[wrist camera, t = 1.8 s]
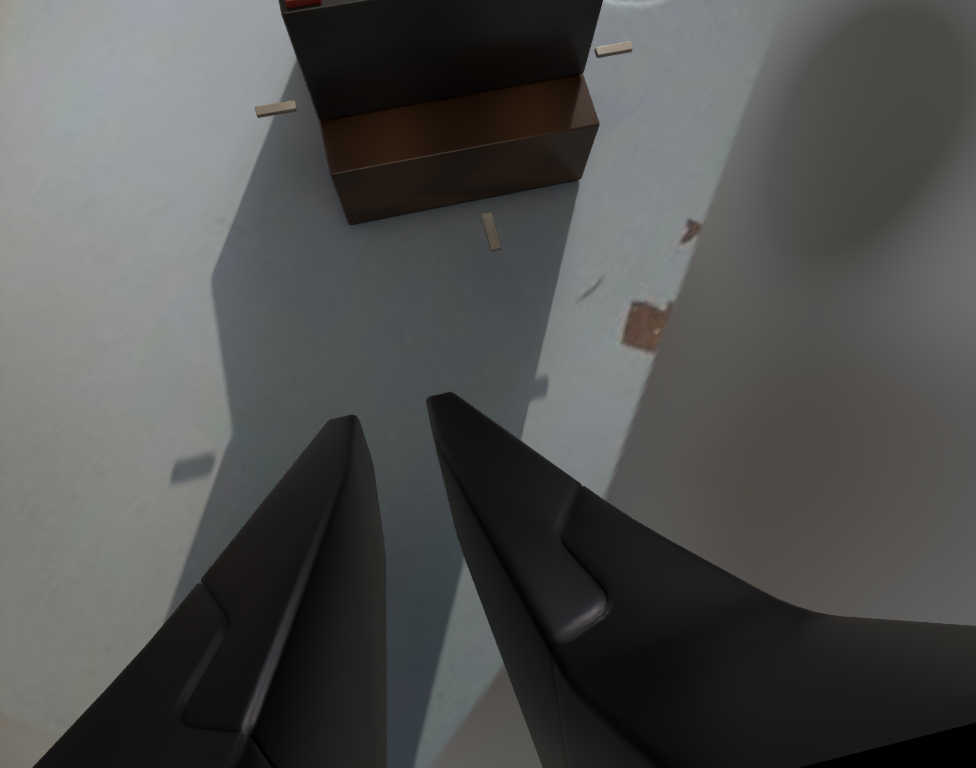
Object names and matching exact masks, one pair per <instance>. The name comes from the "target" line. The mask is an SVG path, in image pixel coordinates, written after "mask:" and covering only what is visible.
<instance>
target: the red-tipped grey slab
mask: <svg viewBox="0 0 976 768" xmlns="http://www.w3.org/2000/svg"><path fill="white" fill-rule="evenodd" d="M602 2H603V0H279V5H280V10H281V15H282V18H283V20H284V23H285V26H286V29H287V32H288V35H289V37H290V40H291V43H292V46H293V49H294V52H295V54H296V57H297V60H298V63H299V66H300V69H301V71H302V74H303V77H304V80H305V83H306V86H307V88H308V91H309V94H310V97H311V100H312V103H313V105H314V108H315V111H316V114H317V117H318V119H319V120H325V119H330V118H336V117H342V116H347V115H353V114H358V113H364V112H370V111H375V110H381V109H386V108H392V107H397V106H403V105H409V104H414V103H420V102H425V101H431V100H437V99H442V98H448V97H453V96H459V95H465V94H470V93H476V92H481V91H487V90H492V89H498V88H504V87H509V86H515V85H520V84H526V83H532V82H537V81H543V80H548V79H554V78H560V77H565V76H571V75H576V74H582V73H584V70H585V66H586V62H587V58H588V55H589V51H590V47H591V43H592V40H593V36H594V32H595V29H596V25H597V21H598V17H599V14H600V10H601V6H602Z"/></svg>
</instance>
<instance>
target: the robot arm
mask: <svg viewBox="0 0 976 768" xmlns="http://www.w3.org/2000/svg"><path fill="white" fill-rule="evenodd" d="M426 404H427V409H428V414H429V419H430V424H431V429H432V434H433V438H434V442H435V446H436V451H437V455H438V459H439V463H440V467H441V471H442V476H443V480H444V484H445V488H446V492H447V496H448V501H449V505H450V509H451V513H452V517H453V521H454V526H455V529H456V533H457V537H458V540H459V543H460V546H461V549H462V552H463V555H464V557H465V560H466V563H467V566H468V568H469V571H470V574H471V576H472V579H473V582H474V584H475V587H476V590H477V592H478V595H479V598H480V600H481V603H482V606H483V608H484V611H485V614H486V617H487V619H488V622H489V625H490V627H491V630H492V633H493V635H494V638H495V641H496V643H497V646H498V649H499V651H500V654H501V657H502V659H503V662H504V665H505V668H506V670H507V673H508V676H509V678H510V681H511V683H512V686H513V689H514V692H515V694H516V697H517V700H518V702H519V705H520V707H521V710H522V713H523V716H524V719H525V721H526V724H527V727H528V729H529V732H530V734H531V737H532V740H533V743H534V745H535V748H536V751H537V753H538V756H539V759H540V761H541V764H542V767H543V768H976V626H970V625H955V624H942V623H928V622H914V621H900V620H886V619H872V618H858V617H844V616H835V615H828V614H823V613H818V612H814V611H811V610H807V609H804V608H801V607H798V606H795V605H792V604H790V603H787V602H785V601H783V600H780V599H778V598H776V597H774V596H772V595H770V594H768V593H766V592H764V591H761V590H760V589H758V588H756V587H754V586H752V585H751V584H749V583H747V582H745V581H743V580H741V579H740V578H738V577H736V576H734V575H732V574H730V573H728V572H727V571H725V570H723V569H721V568H719V567H718V566H716V565H714V564H712V563H710V562H708V561H706V560H704V559H703V558H701V557H699V556H698V555H696V554H694V553H692V552H690V551H688V550H686V549H684V548H683V547H681V546H679V545H677V544H676V543H674V542H672V541H670V540H668V539H666V538H665V537H663V536H661V535H660V534H658V533H656V532H654V531H653V530H651V529H649V528H648V527H646V526H644V525H642V524H641V523H639V522H637V521H636V520H634V519H632V518H631V517H629V516H628V515H626V514H625V513H623V512H622V511H620V510H618V509H617V508H616V507H614V506H612V505H611V504H610V503H608V502H606V501H605V500H603V499H602V498H601V497H599V496H598V495H596V494H595V493H594V492H592V491H591V490H589V489H588V488H587V487H585V486H582V485H581V484H580V483H579V482H578V481H576V480H575V479H574V478H572V477H571V476H569V475H568V474H567V473H565V472H564V471H562V470H561V469H560V468H558V467H557V466H555V465H554V464H553V463H551V462H550V461H548V460H547V459H546V458H544V457H543V456H541V455H540V454H539V453H537V452H536V451H534V450H533V449H532V448H530V447H529V446H527V445H526V444H525V443H523V442H522V441H520V440H519V439H518V438H516V437H515V436H513V435H512V434H511V433H509V432H508V431H506V430H505V429H504V428H502V427H501V426H499V425H498V424H497V423H495V422H494V421H492V420H491V419H490V418H488V417H487V416H485V415H484V414H483V413H481V412H480V411H478V410H477V409H476V408H474V407H473V406H471V405H470V404H469V403H467V402H466V401H464V400H463V399H462V398H460V397H459V396H457V395H456V394H455V393H453V392H447V393H443V394H439V395H434V396H430V397H428V398H427V400H426ZM201 583H202V584H201ZM201 583H198V584H197V585H196V586H195V587H194V588H193V589H192V591H191V592H190V593H189V594H188V596H187V597H186V598H185V599H184V601H183V602H182V603H181V604H180V606H179V607H178V608H177V609H176V610H175V612H174V613H173V614H172V615H171V616H170V618H169V619H168V620H167V621H166V622H165V623H164V625H163V626H162V627H161V628H160V629H159V631H158V632H157V633H156V634H155V635H154V637H153V638H152V639H151V640H150V641H149V642H148V644H147V645H146V646H145V647H144V648H143V649H142V650H141V651H140V653H139V654H138V655H137V656H136V657H135V658H134V659H133V660H132V661H131V662H130V664H129V665H128V666H127V667H126V668H125V669H124V670H123V671H122V672H121V673H120V675H119V676H118V677H117V678H116V679H115V680H114V681H113V682H112V683H111V684H110V686H109V687H108V688H107V689H106V690H105V691H104V692H103V693H102V694H101V695H100V696H99V697H98V698H97V699H96V701H95V702H94V703H93V704H92V705H91V706H90V707H89V708H88V709H87V710H86V711H85V712H84V713H83V714H82V715H81V716H80V718H79V719H78V720H77V721H76V722H75V723H74V724H73V725H72V726H71V727H70V728H69V729H68V730H67V731H66V732H65V733H64V735H63V736H62V737H61V738H60V739H59V740H58V741H57V742H56V743H55V744H54V745H53V746H52V747H51V748H50V749H49V751H48V752H47V753H46V754H45V755H44V756H43V757H42V758H41V759H40V760H39V761H38V762H37V763H36V764H35V766H33V768H387V737H386V556H385V546H384V538H383V531H382V523H381V516H380V509H379V502H378V494H377V487H376V480H375V473H374V467H373V462H372V458H371V455H370V452H369V449H368V446H367V443H366V439H365V436H364V433H363V430H362V427H361V424H360V421H359V419H358V417H357V416H356V415H348V416H343V417H339V418H334V419H331V420H329V421H328V422H327V423H326V424H325V425H324V427H323V428H322V429H321V430H320V432H319V433H318V434H317V435H316V437H315V438H314V439H313V440H312V442H311V443H310V444H309V445H308V447H307V448H306V449H305V450H304V451H303V453H302V454H301V455H300V456H299V458H298V459H297V460H296V461H295V463H294V464H293V465H292V466H291V468H290V469H289V470H288V471H287V473H286V474H285V475H284V476H283V478H282V479H281V480H280V481H279V483H278V484H277V485H276V486H275V488H274V489H273V490H272V491H271V493H270V494H269V495H268V496H267V498H266V499H265V500H264V501H263V503H262V504H261V505H260V506H259V508H258V509H257V510H256V511H255V512H254V514H253V515H252V516H251V517H250V519H249V520H248V521H247V522H246V524H245V525H244V526H243V527H242V529H241V530H240V531H239V532H238V534H237V535H236V536H235V537H234V539H233V540H232V541H231V542H230V544H229V545H228V546H227V547H226V549H225V550H224V551H223V552H222V554H221V555H220V556H219V557H218V559H217V560H216V561H215V562H214V564H213V565H212V566H211V567H210V569H209V570H208V571H207V572H206V574H205V575H204V576H203V577H202V579H201Z"/></svg>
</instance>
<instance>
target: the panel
mask: <svg viewBox="0 0 976 768" xmlns="http://www.w3.org/2000/svg"><path fill="white" fill-rule="evenodd" d="M629 52H632V46H631V43H630V42H624V43H619V44H613V45H607V46H601V47H596V48H595V54H596V57H597V58H601V57H606V56H612V55H618V54H623V53H629ZM255 110H256V115H257V117H258V118H261V117H267V116H272V115H278V114H284V113H289V112H295V111H297V110H296V105H295V101H294V100H292V101H287V102H281V103H275V104H270V105H264V106H258V107H255ZM319 123H320V128H321V133H322V137H323V142H324V147H325V152H326V157H327V162H328V166H329V171H330V175H331V178H332V181H333V183H334V186H335V189H336V191H337V194H338V197H339V199H340V202H341V205H342V207H343V210H344V213H345V215H346V218H347V221H348V223H349V224H355V223H360V222H365V221H370V220H375V219H380V218H386V217H391V216H396V215H401V214H406V213H411V212H416V211H421V210H426V209H431V208H436V207H441V206H446V205H451V204H456V203H461V202H467V201H472V200H477V199H482V198H487V197H492V196H497V195H502V194H507V193H512V192H517V191H522V190H527V189H532V188H537V187H542V186H548V185H553V184H558V183H563V182H568V181H573V180H578V179H581V178H582V175H583V172H584V169H585V166H586V163H587V160H588V157H589V154H590V151H591V148H592V145H593V142H594V139H595V137H596V134H597V131H598V128H599V121H598V118H597V115H596V112H595V109H594V106H593V103H592V100H591V97H590V94H589V91H588V88H587V85H586V82H585V79H584V76H583V73H582V74H576V75H571V76H565V77H560V78H554V79H548V80H543V81H537V82H532V83H526V84H520V85H515V86H509V87H504V88H498V89H492V90H487V91H481V92H476V93H470V94H465V95H459V96H453V97H448V98H442V99H437V100H431V101H425V102H420V103H414V104H409V105H403V106H397V107H392V108H386V109H381V110H375V111H370V112H364V113H358V114H353V115H347V116H342V117H336V118H330V119H325V120H319ZM482 220H483V224H484V228H485V231H486V235H487V239H488V242H489V246H490V250H491V252H492V251H497V250H501V245H500V241H499V238H498V234H497V230H496V227H495V223H494V219H493V216H492V212H489V213H484V214H482Z"/></svg>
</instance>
